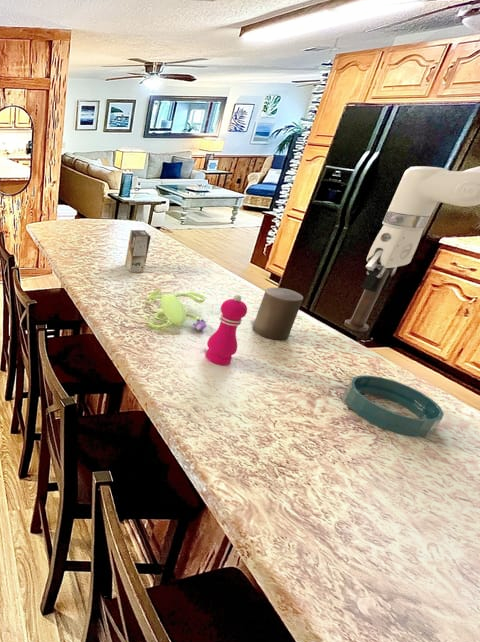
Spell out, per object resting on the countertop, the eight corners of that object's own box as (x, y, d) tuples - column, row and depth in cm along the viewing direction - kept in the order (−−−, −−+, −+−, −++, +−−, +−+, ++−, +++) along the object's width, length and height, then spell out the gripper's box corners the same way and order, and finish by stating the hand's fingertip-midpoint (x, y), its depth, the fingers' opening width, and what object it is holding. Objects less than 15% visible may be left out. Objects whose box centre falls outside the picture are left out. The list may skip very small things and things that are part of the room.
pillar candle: (286, 344, 116) (304, 299, 110) (249, 333, 122) (265, 290, 115) (288, 331, 123) (306, 288, 117) (253, 321, 129) (268, 280, 122)
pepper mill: (210, 348, 113) (229, 287, 105) (236, 360, 108) (258, 296, 100) (198, 357, 109) (217, 294, 100) (225, 369, 104) (247, 304, 95)
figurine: (201, 303, 140) (204, 289, 137) (209, 340, 117) (214, 324, 115) (147, 295, 145) (150, 281, 143) (145, 328, 123) (148, 313, 120)
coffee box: (144, 272, 166) (151, 236, 159) (129, 271, 166) (136, 236, 159) (138, 264, 174) (145, 230, 167) (124, 264, 174) (130, 229, 167)
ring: (366, 389, 98) (376, 370, 95) (444, 432, 85) (459, 411, 82) (325, 402, 93) (335, 382, 90) (402, 450, 80) (416, 428, 78)
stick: (351, 321, 109) (377, 265, 102) (371, 329, 105) (400, 271, 98) (339, 323, 108) (364, 267, 101) (359, 332, 104) (387, 274, 96)
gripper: (403, 226, 88) (369, 299, 96) (445, 221, 93) (409, 290, 101) (365, 219, 94) (336, 287, 102) (406, 214, 99) (376, 279, 107)
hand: (373, 288), depth 101 cm, fingers closed on stick, 3 cm apart
